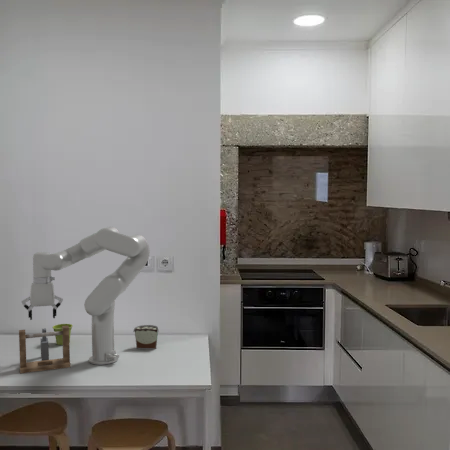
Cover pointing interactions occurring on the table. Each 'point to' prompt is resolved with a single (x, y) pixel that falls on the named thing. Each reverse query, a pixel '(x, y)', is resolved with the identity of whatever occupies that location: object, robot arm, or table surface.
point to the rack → (36, 365)
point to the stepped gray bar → (44, 347)
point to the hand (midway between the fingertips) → (42, 318)
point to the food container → (146, 336)
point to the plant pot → (59, 337)
